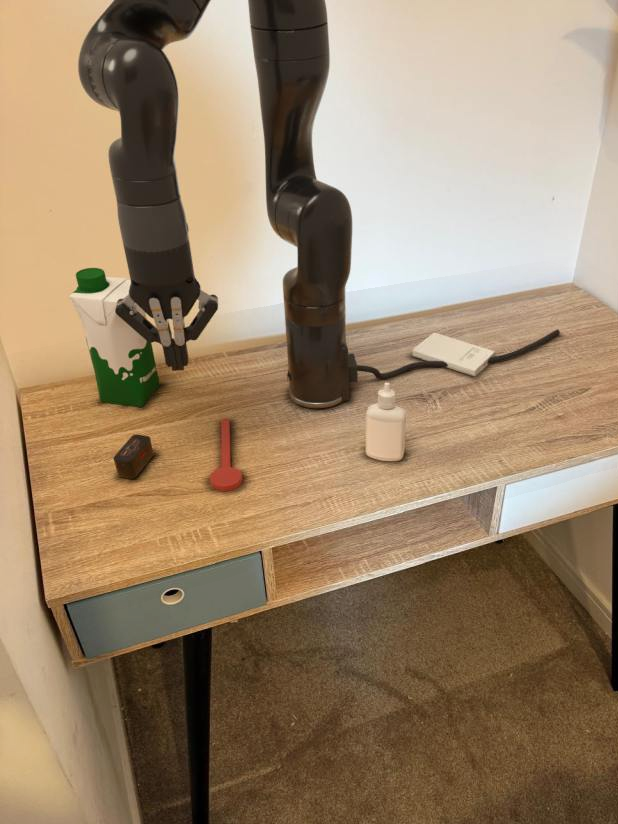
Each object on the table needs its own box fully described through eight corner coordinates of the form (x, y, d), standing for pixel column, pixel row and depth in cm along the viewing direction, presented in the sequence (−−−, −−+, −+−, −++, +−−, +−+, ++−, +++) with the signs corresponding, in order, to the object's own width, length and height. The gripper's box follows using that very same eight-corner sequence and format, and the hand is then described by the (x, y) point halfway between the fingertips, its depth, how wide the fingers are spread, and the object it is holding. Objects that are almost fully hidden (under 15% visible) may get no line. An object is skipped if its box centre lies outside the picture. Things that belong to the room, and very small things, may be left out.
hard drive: (434, 339, 137) (495, 358, 132) (411, 357, 131) (474, 377, 126) (434, 331, 135) (496, 350, 131) (412, 349, 130) (475, 369, 125)
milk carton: (118, 376, 124) (89, 259, 111) (168, 383, 123) (146, 266, 110) (92, 404, 117) (59, 283, 104) (145, 411, 116) (118, 290, 103)
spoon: (240, 422, 114) (239, 417, 114) (242, 489, 102) (242, 484, 101) (211, 424, 114) (210, 419, 113) (210, 492, 101) (209, 487, 101)
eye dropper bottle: (389, 469, 106) (392, 397, 98) (360, 453, 109) (361, 382, 101) (408, 455, 109) (413, 385, 101) (380, 440, 112) (382, 370, 104)
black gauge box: (158, 451, 108) (154, 433, 106) (135, 481, 103) (130, 462, 101) (129, 447, 109) (124, 428, 107) (104, 475, 104) (99, 457, 101)
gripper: (92, 251, 83) (124, 385, 94) (212, 246, 84) (229, 379, 96) (100, 227, 88) (129, 356, 99) (213, 223, 90) (229, 351, 101)
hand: (178, 367), depth 98 cm, fingers closed
